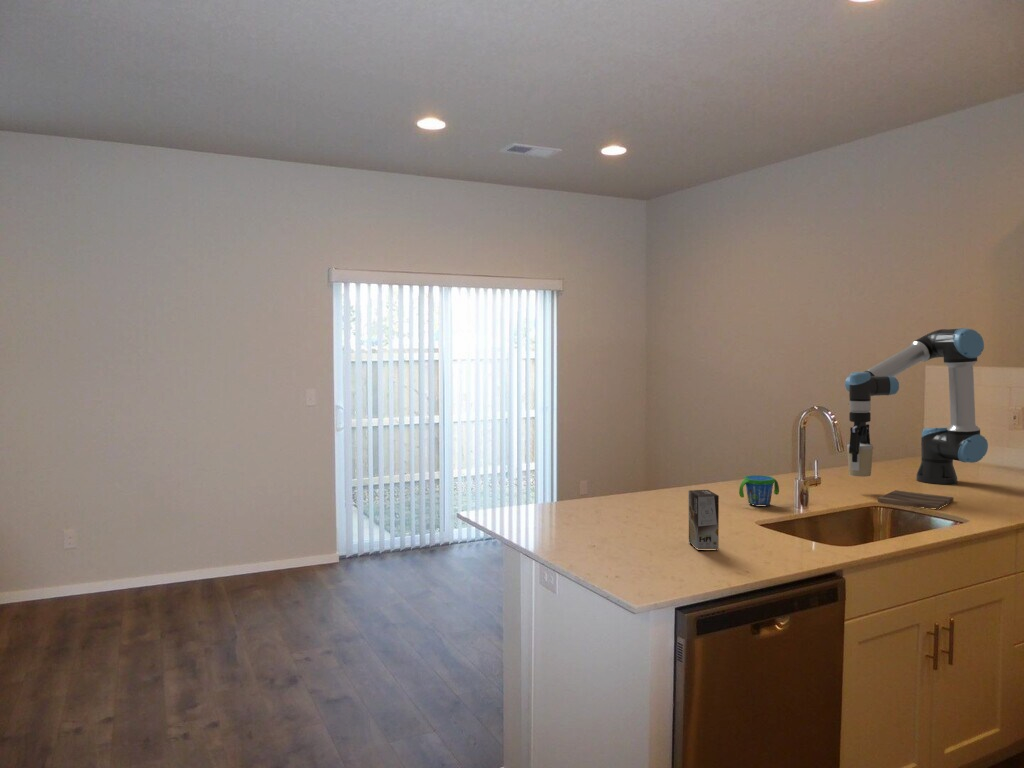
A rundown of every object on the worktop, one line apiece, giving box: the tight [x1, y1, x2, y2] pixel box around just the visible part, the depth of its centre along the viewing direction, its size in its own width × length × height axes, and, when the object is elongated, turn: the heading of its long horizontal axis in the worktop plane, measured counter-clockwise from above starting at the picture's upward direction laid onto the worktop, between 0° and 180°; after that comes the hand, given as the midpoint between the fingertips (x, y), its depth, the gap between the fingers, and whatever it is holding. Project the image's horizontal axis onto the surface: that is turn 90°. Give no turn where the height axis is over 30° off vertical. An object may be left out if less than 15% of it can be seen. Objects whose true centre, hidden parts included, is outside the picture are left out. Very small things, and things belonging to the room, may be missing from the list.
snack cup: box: [738, 474, 780, 506], centre depth 268 cm, size 16×10×10 cm
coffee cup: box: [846, 443, 874, 478], centre depth 287 cm, size 9×9×12 cm
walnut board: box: [877, 489, 955, 510], centre depth 271 cm, size 20×20×2 cm
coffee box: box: [688, 489, 720, 550], centre depth 213 cm, size 9×6×16 cm
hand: (860, 468), depth 287 cm, fingers closed on coffee cup, 9 cm apart
